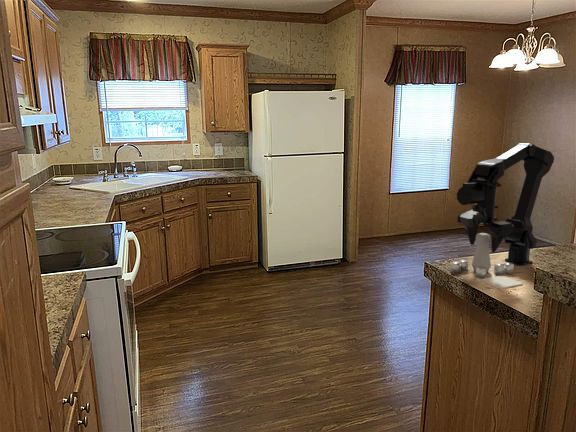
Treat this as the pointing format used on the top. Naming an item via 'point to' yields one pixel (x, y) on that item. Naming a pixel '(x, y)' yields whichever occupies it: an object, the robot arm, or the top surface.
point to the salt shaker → (482, 252)
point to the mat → (501, 282)
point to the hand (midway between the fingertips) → (482, 248)
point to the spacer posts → (482, 268)
